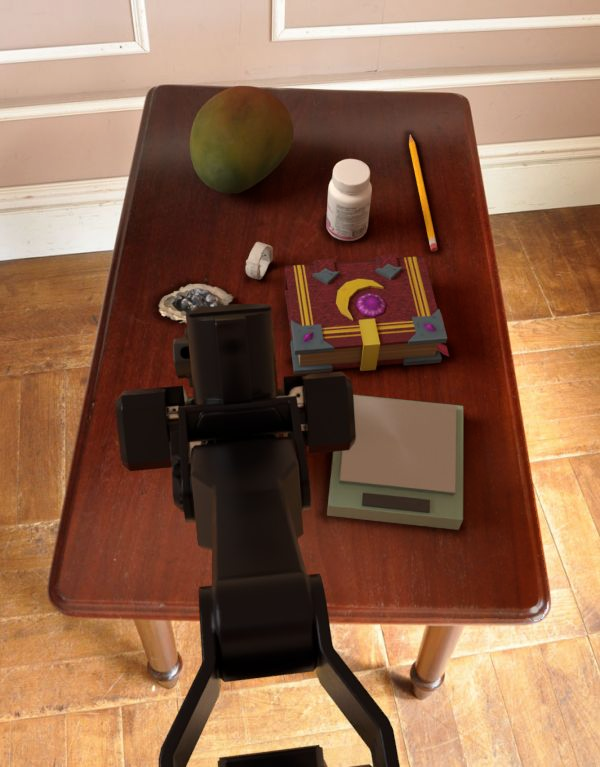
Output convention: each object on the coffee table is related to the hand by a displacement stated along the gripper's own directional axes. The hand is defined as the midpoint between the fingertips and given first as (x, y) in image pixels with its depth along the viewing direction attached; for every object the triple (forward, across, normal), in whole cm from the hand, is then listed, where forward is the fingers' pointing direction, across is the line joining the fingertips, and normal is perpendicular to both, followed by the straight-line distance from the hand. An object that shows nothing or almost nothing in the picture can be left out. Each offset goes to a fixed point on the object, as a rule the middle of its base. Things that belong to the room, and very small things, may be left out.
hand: (234, 398), depth 77 cm
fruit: (+30, -4, -20) cm, 37 cm away
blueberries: (+16, +3, -6) cm, 17 cm away
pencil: (+27, -24, -17) cm, 40 cm away
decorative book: (+13, -14, -3) cm, 20 cm away
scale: (+1, -15, +8) cm, 17 cm away
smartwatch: (+19, -4, -10) cm, 22 cm away
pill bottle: (+23, -15, -14) cm, 31 cm away
